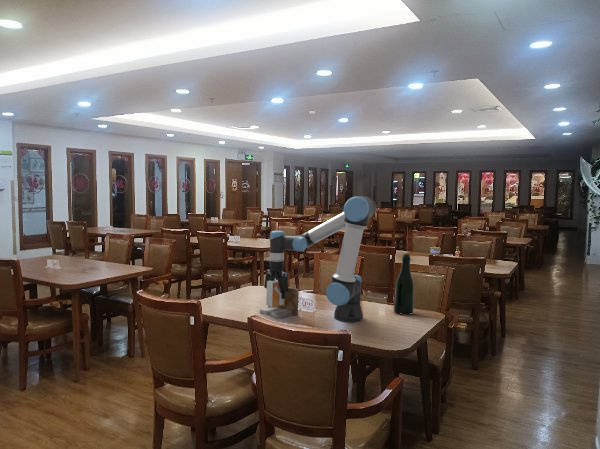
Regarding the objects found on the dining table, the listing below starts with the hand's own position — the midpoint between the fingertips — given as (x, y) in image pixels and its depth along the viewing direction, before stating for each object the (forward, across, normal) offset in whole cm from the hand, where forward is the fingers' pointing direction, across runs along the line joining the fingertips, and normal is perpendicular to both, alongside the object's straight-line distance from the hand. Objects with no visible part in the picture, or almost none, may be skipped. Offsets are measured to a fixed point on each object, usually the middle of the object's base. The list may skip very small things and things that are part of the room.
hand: (275, 303), depth 250 cm
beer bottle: (+7, -48, -52) cm, 72 cm away
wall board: (+6, 0, -2) cm, 6 cm away
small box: (+1, 0, 0) cm, 1 cm away
